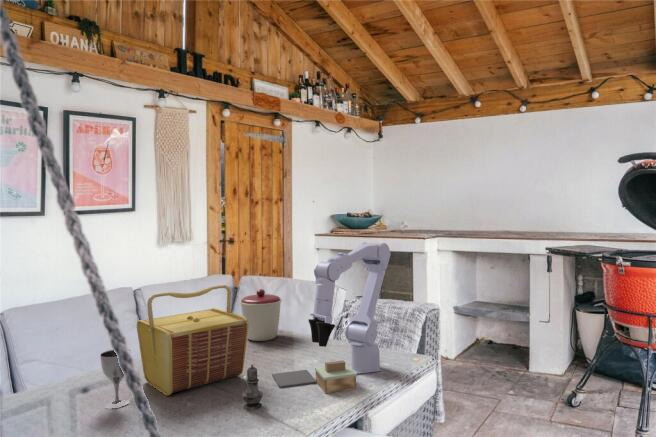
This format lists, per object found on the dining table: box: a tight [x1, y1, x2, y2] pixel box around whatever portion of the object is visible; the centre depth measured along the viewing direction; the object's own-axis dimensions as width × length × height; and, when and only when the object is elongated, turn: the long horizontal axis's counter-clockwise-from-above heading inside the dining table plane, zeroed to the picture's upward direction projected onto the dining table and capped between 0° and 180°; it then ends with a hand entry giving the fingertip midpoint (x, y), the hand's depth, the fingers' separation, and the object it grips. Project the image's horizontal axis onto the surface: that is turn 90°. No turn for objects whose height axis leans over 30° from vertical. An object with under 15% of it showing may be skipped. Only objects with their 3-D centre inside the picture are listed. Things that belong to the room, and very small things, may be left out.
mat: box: [271, 369, 317, 389], centre depth 162 cm, size 12×12×1 cm
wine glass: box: [100, 349, 131, 404], centre depth 144 cm, size 8×8×15 cm
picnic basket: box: [136, 284, 248, 396], centre depth 163 cm, size 29×26×30 cm
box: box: [315, 371, 357, 394], centre depth 156 cm, size 10×10×4 cm
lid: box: [314, 360, 358, 380], centre depth 156 cm, size 10×10×4 cm
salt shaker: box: [241, 364, 264, 411], centre depth 141 cm, size 6×6×12 cm
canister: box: [239, 288, 283, 342], centre depth 213 cm, size 18×18×21 cm
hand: (318, 344), depth 154 cm, fingers open, 7 cm apart
